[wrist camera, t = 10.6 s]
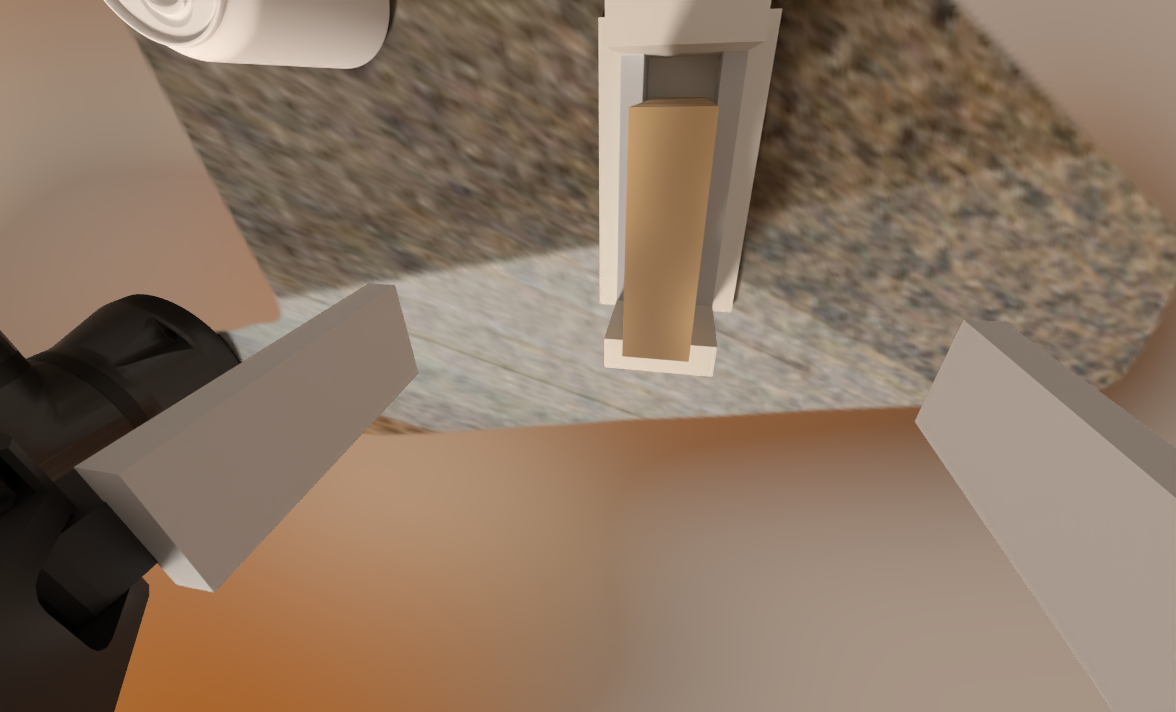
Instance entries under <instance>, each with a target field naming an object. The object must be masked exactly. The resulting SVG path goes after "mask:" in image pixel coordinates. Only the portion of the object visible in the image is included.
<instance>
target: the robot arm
mask: <svg viewBox="0 0 1176 712" xmlns="http://www.w3.org/2000/svg"><path fill="white" fill-rule="evenodd" d="M417 374H418V370H417V366H416V363H415V359H414V355H413V351H412V347H411V344H410V340H409V336H408V332H407V329H406V325H405V321H404V317H403V313H402V310H401V306H400V302H399V298H398V295H397V291H396V287H395V285H384V284H367V285H366V286H364V287H362V288H361V289H359V290H358V291H356V292H354V293H353V294H351V295H349V296H348V297H346V298H345V299H343V300H341V301H340V302H338V303H337V304H335V305H333V306H332V307H330V308H329V309H327V310H325V311H324V312H322V313H321V314H319V315H317V316H316V317H314V318H313V319H311V320H309V321H308V322H306V323H304V324H303V325H301V326H300V327H298V328H296V329H295V330H293V331H292V332H290V333H288V334H287V335H285V336H284V337H282V338H280V339H279V340H277V341H276V342H274V343H272V344H271V345H269V346H268V347H266V348H264V349H263V350H261V351H259V352H258V353H256V354H255V355H253V356H251V357H250V358H248V359H247V360H245V361H243V362H242V363H240V364H239V363H238V361H237V359H236V358H235V356H234V354H233V353H232V352H231V350H230V349H229V347H228V346H227V345H226V344H225V342H224V341H223V340H222V339H221V338H220V337H219V336H218V335H217V334H216V333H215V332H214V331H213V330H212V329H211V328H210V327H209V326H207V325H206V324H205V323H204V322H203V321H202V320H200V319H199V318H198V317H196V316H195V315H193V314H192V313H190V312H189V311H187V310H185V309H184V308H182V307H180V306H178V305H176V304H174V303H172V302H170V301H168V300H165V299H162V298H159V297H155V296H150V295H144V294H142V295H141V294H136V295H131V296H127V297H124V298H122V299H119V300H117V301H114V302H111V303H109V304H106V305H104V306H103V307H101V308H99V309H98V310H97V311H95V312H94V313H93V314H92V315H91V316H89V317H88V318H87V319H86V320H85V321H83V322H82V323H81V324H80V325H78V327H76V328H75V329H74V330H72V331H71V332H70V333H69V334H68V335H66V336H65V337H64V338H63V339H61V340H60V341H59V342H58V343H57V344H55V345H54V346H53V347H52V348H50V349H48V350H46V351H44V352H41V353H39V354H36V355H34V356H32V357H29V358H27V359H25V358H24V357H23V356H22V354H21V353H20V352H19V351H18V350H17V348H16V347H15V346H14V345H13V344H12V343H11V342H10V341H9V339H8V338H7V337H6V336H5V335H4V334H3V333H2V332H1V330H0V712H114V710H115V707H116V704H117V701H118V697H119V694H120V691H121V687H122V684H123V681H124V677H125V674H126V671H127V667H128V664H129V660H130V657H131V654H132V651H133V647H134V644H135V641H136V637H137V634H138V631H139V627H140V624H141V621H142V617H143V614H144V611H145V607H146V604H147V601H148V597H149V584H148V583H147V582H146V581H145V580H144V579H143V578H142V576H143V575H144V574H145V573H147V572H148V571H149V570H150V569H151V568H152V567H153V566H154V565H155V564H156V563H158V564H159V565H160V567H161V568H162V569H163V570H164V571H165V572H166V573H167V574H168V576H169V577H170V578H171V579H172V580H173V581H174V583H175V584H176V585H181V586H186V587H190V588H195V589H200V590H205V591H209V592H215V591H216V590H217V589H218V588H219V587H220V586H221V585H222V584H223V583H224V582H225V581H226V579H227V578H228V577H229V576H230V575H231V574H232V573H233V572H234V571H235V570H236V569H237V568H238V567H239V566H240V564H241V563H242V562H243V561H244V560H245V559H246V558H247V557H248V556H249V555H250V554H251V553H252V551H253V550H254V549H255V548H256V547H257V546H258V545H259V544H260V543H261V542H262V541H263V540H264V539H265V538H266V536H267V535H268V534H269V533H270V532H271V531H272V530H273V529H274V528H275V527H276V526H277V525H278V524H279V522H280V521H281V520H282V519H283V518H284V517H285V516H286V515H287V514H288V513H289V512H290V511H291V510H292V509H293V508H294V506H295V505H296V504H297V503H298V502H299V501H300V500H301V499H302V498H303V497H304V496H305V495H306V494H307V492H308V491H309V490H310V489H311V488H312V487H313V486H314V485H315V484H316V483H317V482H318V481H319V480H320V478H321V477H322V476H323V475H324V474H325V473H326V472H327V471H328V470H329V469H330V468H331V467H332V466H333V465H334V463H335V462H336V461H337V460H338V459H339V458H340V457H341V456H342V455H343V454H344V453H345V452H346V451H347V449H348V448H349V447H350V446H351V445H352V444H353V443H354V442H355V441H356V440H357V439H358V438H359V437H360V436H361V434H362V433H363V432H364V431H365V430H366V429H367V428H368V427H369V426H370V425H371V424H372V423H373V422H374V421H375V419H376V418H377V417H378V416H379V415H380V414H381V413H382V412H383V411H384V410H385V409H386V408H387V407H388V405H389V404H390V403H391V402H392V401H393V400H394V399H395V398H396V397H397V396H398V395H399V394H400V393H401V392H402V390H403V389H404V388H405V387H406V386H407V385H408V384H409V383H410V382H411V381H412V380H413V379H414V378H415V376H416V375H417ZM915 423H916V424H917V426H918V427H919V428H920V430H921V431H922V433H923V434H924V436H925V437H926V438H927V440H928V442H929V443H930V445H931V446H932V448H933V449H934V451H935V452H936V453H937V455H938V456H939V458H940V459H941V461H942V462H943V464H944V465H945V467H946V468H947V470H948V471H949V473H950V474H951V475H952V477H953V478H954V480H955V481H956V483H957V484H958V486H959V487H960V489H961V490H962V492H963V493H964V494H965V496H966V497H967V499H968V500H969V502H970V503H971V505H972V506H973V508H974V509H975V510H976V512H977V513H978V515H979V516H980V518H981V519H982V521H983V522H984V524H985V525H986V527H987V528H988V530H989V531H990V532H991V534H992V535H993V537H994V538H995V540H996V541H997V543H998V544H999V546H1000V547H1001V549H1002V550H1003V552H1004V553H1005V554H1006V556H1007V557H1008V559H1009V560H1010V562H1011V563H1012V565H1013V566H1014V568H1015V569H1016V571H1017V572H1018V573H1019V575H1020V576H1021V578H1022V579H1023V581H1024V582H1025V584H1026V585H1027V587H1028V588H1029V590H1030V591H1031V592H1032V594H1033V596H1034V597H1035V598H1036V600H1037V601H1038V603H1039V604H1040V606H1041V607H1042V609H1043V610H1044V612H1045V613H1046V614H1047V616H1048V617H1049V619H1050V620H1051V622H1052V623H1053V625H1054V626H1055V628H1056V629H1057V631H1058V632H1059V634H1060V635H1061V637H1062V638H1063V639H1064V641H1065V642H1066V644H1067V645H1068V647H1069V648H1070V650H1071V651H1072V653H1073V654H1074V655H1075V657H1076V658H1077V660H1078V661H1079V663H1080V664H1081V666H1082V667H1083V669H1084V670H1085V672H1086V673H1087V675H1088V676H1089V677H1090V679H1091V680H1092V682H1093V683H1094V685H1095V686H1096V688H1097V689H1098V691H1099V692H1100V694H1101V695H1102V697H1103V698H1104V700H1105V701H1106V702H1107V704H1108V705H1109V707H1110V708H1111V710H1112V711H1113V712H1176V448H1175V447H1174V446H1172V445H1171V444H1169V443H1168V442H1167V441H1166V440H1164V439H1163V438H1161V437H1160V436H1159V435H1157V434H1156V433H1155V432H1153V431H1152V430H1151V429H1149V428H1148V427H1146V426H1145V425H1144V424H1143V423H1141V422H1140V421H1138V420H1137V419H1136V418H1134V417H1133V416H1132V415H1130V414H1129V413H1127V412H1126V411H1125V410H1124V409H1122V408H1121V407H1119V406H1118V405H1117V404H1115V403H1114V402H1113V401H1111V400H1110V399H1109V398H1107V397H1106V396H1105V395H1103V394H1102V393H1101V392H1099V391H1098V390H1096V389H1095V388H1094V387H1092V386H1091V385H1090V384H1088V383H1087V382H1086V381H1084V380H1083V379H1082V378H1080V377H1079V376H1078V375H1076V374H1075V373H1073V372H1072V371H1071V370H1069V369H1068V368H1067V367H1065V366H1064V365H1063V364H1061V363H1060V362H1059V361H1057V360H1056V359H1054V358H1053V357H1052V356H1050V355H1049V354H1048V353H1046V352H1045V351H1044V350H1042V349H1041V348H1040V347H1038V346H1037V345H1036V344H1034V343H1033V342H1031V341H1030V340H1029V339H1027V338H1026V337H1025V336H1023V335H1022V334H1021V333H1019V332H1018V331H1017V330H1015V329H1014V328H1013V327H1011V326H1010V325H1008V324H1007V323H1006V322H993V321H977V320H963V322H962V324H961V326H960V328H959V330H958V332H957V335H956V337H955V339H954V341H953V343H952V345H951V347H950V349H949V351H948V353H947V355H946V357H945V360H944V362H943V364H942V366H941V368H940V370H939V372H938V374H937V376H936V378H935V380H934V382H933V385H932V387H931V389H930V391H929V393H928V395H927V397H926V399H925V401H924V403H923V405H922V408H921V410H920V412H919V414H918V416H917V418H916V420H915Z"/></svg>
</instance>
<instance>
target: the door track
mask: <svg viewBox="0 0 1176 712" xmlns="http://www.w3.org/2000/svg"><path fill="white" fill-rule="evenodd" d="M770 6H771V0H605V17H599V18H598V21H599V229H600V304H608V305H615V308H614V311H613V314H612V317H611V320H610V323H609V326H608V329H607V332H606V335H605V338H604V367H608V368H620V369H631V370H642V371H653V372H665V373H676V374H687V375H699V376H710V377H712V376H713V370H714V363H715V357H716V350H717V343H716V334H715V325H714V317H713V311H718V312H731V311H732V305H733V299H734V293H735V287H736V281H737V275H738V270H739V264H740V258H741V252H742V246H743V240H744V234H745V228H746V222H747V216H748V210H749V204H750V198H751V192H752V186H753V180H754V174H755V169H756V163H757V157H758V151H759V145H760V139H761V133H762V127H763V121H764V115H765V109H766V103H767V97H768V91H769V85H770V79H771V74H772V68H773V62H774V56H775V50H776V44H777V38H778V32H779V26H780V20H781V14H782V8H780V9H770ZM680 97H706V98H707V99H709V100H710V101H712V102H714V103H715V104H717V105H719V113H718V122H717V130H716V138H715V147H714V155H713V163H712V172H711V180H710V188H709V197H708V205H707V213H706V222H705V230H704V238H703V247H702V255H701V263H700V272H699V280H698V288H697V297H696V305H695V313H694V322H693V330H692V338H691V347H690V355H689V362H684V361H672V360H661V359H649V358H637V357H625V356H622V348H623V310H624V272H625V234H626V196H627V158H628V120H629V107H631V106H634V105H636V104H639V103H642V102H645V101H647V100H650V99H653V98H680Z"/></svg>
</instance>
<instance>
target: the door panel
mask: <svg viewBox="0 0 1176 712" xmlns="http://www.w3.org/2000/svg"><path fill="white" fill-rule="evenodd" d="M718 113H719V105H717V104H715V103H714V102H712V101H710V100H709V99H707V98H706V97H680V98H653V99H650V100H647V101H645V102H642V103H639V104H636V105H634V106H631V107H629V120H628V158H627V196H626V234H625V272H624V310H623V348H622V356H625V357H637V358H649V359H661V360H672V361H684V362H689V355H690V347H691V338H692V330H693V322H694V313H695V305H696V297H697V288H698V280H699V272H700V263H701V255H702V247H703V238H704V230H705V222H706V213H707V205H708V197H709V188H710V180H711V172H712V163H713V155H714V147H715V138H716V130H717V122H718Z"/></svg>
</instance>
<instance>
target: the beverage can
mask: <svg viewBox="0 0 1176 712" xmlns="http://www.w3.org/2000/svg"><path fill="white" fill-rule="evenodd" d="M104 1H105V3H106V4H107V5H108V6H109V7H110V8H111V9H112V10H113V11H114V12H115V13H116V14H117V15H118V16H119V17H120V18H121V19H122V20H123V21H124V22H126V23H127V24H128V25H129V26H131V27H132V28H133V29H135V30H136V31H137V32H139V33H140V34H142V35H144V36H145V37H147V38H149V39H151V40H153V41H155V42H158V43H160V44H163V45H166V46H168V47H170V48H171V49H173V50H175V51H177V52H179V53H181V54H183V55H186V56H188V57H191V58H194V59H198V60H202V61H208V62H223V63H242V64H262V65H282V66H302V67H321V68H341V69H350V68H356V67H359V66H362V65H364V64H366V63H367V62H369V61H370V60H371V59H372V58H373V57H374V56H375V55H376V54H377V53H378V51H379V50H380V48H381V46H382V44H383V42H384V40H385V37H386V34H387V30H388V24H389V14H390V5H389V0H104Z"/></svg>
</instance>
